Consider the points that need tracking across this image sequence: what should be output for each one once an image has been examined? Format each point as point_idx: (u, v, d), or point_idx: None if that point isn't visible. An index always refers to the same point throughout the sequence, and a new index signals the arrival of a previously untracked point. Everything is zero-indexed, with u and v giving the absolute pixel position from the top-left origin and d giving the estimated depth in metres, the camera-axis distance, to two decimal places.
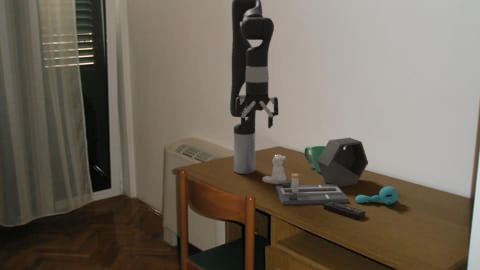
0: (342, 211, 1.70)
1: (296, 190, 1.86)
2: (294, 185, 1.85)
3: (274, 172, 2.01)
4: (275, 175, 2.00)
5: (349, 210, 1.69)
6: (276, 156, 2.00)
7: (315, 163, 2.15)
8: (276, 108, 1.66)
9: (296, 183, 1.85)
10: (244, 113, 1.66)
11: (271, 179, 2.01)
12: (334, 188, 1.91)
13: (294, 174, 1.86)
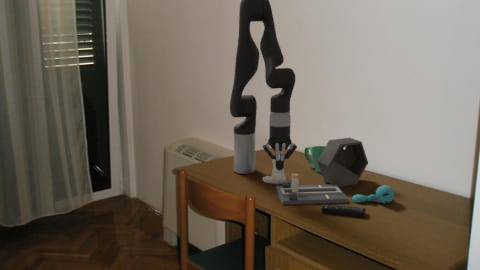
0: (345, 212, 1.69)
1: (296, 190, 1.86)
2: (294, 185, 1.85)
3: (274, 172, 2.01)
4: (275, 175, 2.00)
5: (351, 210, 1.70)
6: None
7: (315, 163, 2.15)
8: (290, 153, 1.82)
9: (296, 183, 1.85)
10: (277, 156, 1.82)
11: (271, 179, 2.01)
12: (334, 188, 1.91)
13: (294, 174, 1.86)
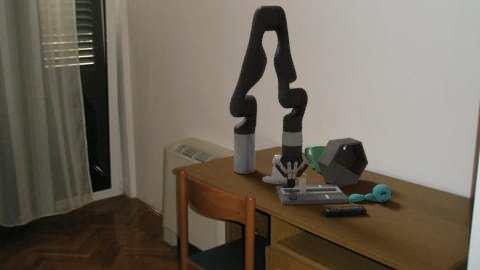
0: (349, 212, 1.69)
1: (304, 190, 1.86)
2: (302, 185, 1.85)
3: (274, 172, 2.01)
4: (275, 175, 2.00)
5: (353, 209, 1.70)
6: (276, 156, 2.00)
7: (315, 163, 2.15)
8: (301, 172, 1.84)
9: (304, 183, 1.85)
10: (289, 175, 1.84)
11: (271, 179, 2.01)
12: (334, 188, 1.91)
13: (302, 174, 1.86)
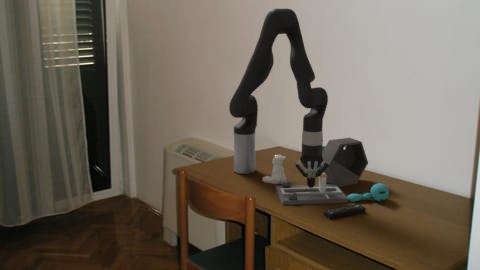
0: (350, 212, 1.69)
1: (323, 189, 1.87)
2: (322, 184, 1.86)
3: (274, 172, 2.01)
4: (275, 175, 2.00)
5: (353, 208, 1.71)
6: (276, 156, 2.00)
7: None
8: (321, 171, 1.85)
9: (324, 182, 1.86)
10: (309, 174, 1.85)
11: (271, 179, 2.01)
12: (334, 188, 1.91)
13: None
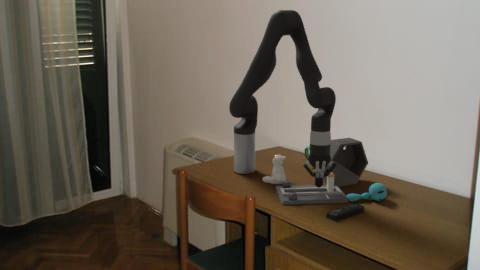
0: (352, 212, 1.69)
1: (331, 189, 1.87)
2: (329, 184, 1.86)
3: (274, 172, 2.01)
4: (275, 175, 2.00)
5: (353, 208, 1.71)
6: (276, 156, 2.00)
7: None
8: (329, 171, 1.85)
9: (332, 182, 1.86)
10: (317, 174, 1.85)
11: (271, 179, 2.01)
12: (334, 188, 1.91)
13: None
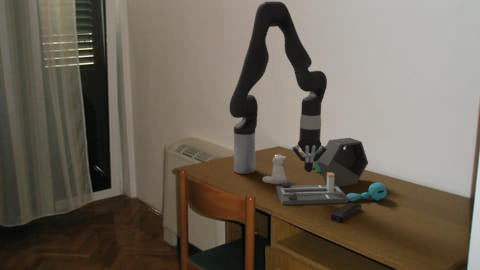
0: (353, 211, 1.70)
1: (331, 189, 1.87)
2: (330, 184, 1.86)
3: (274, 172, 2.01)
4: (275, 175, 2.00)
5: (352, 207, 1.72)
6: (276, 156, 2.00)
7: (315, 163, 2.15)
8: (319, 155, 1.84)
9: (332, 182, 1.86)
10: (306, 158, 1.84)
11: (271, 179, 2.01)
12: (334, 188, 1.91)
13: (329, 173, 1.87)
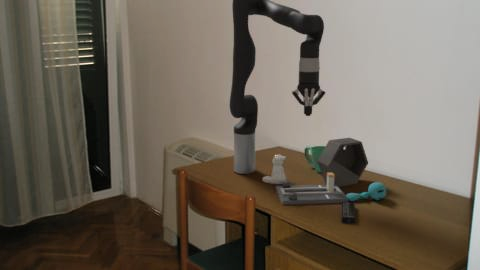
0: (354, 210, 1.71)
1: (331, 189, 1.87)
2: (330, 184, 1.86)
3: (274, 172, 2.01)
4: (275, 175, 2.00)
5: (351, 206, 1.73)
6: (276, 156, 2.00)
7: (315, 163, 2.15)
8: (318, 99, 1.88)
9: (332, 182, 1.86)
10: (306, 102, 1.88)
11: (271, 179, 2.01)
12: (334, 188, 1.91)
13: (329, 173, 1.87)
